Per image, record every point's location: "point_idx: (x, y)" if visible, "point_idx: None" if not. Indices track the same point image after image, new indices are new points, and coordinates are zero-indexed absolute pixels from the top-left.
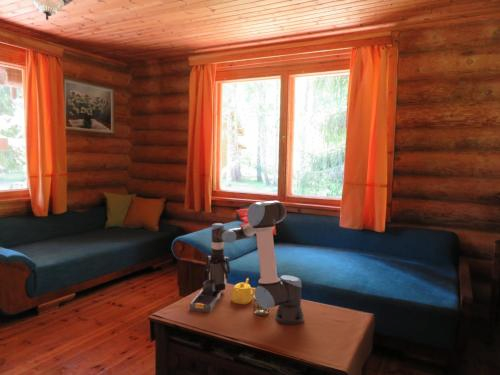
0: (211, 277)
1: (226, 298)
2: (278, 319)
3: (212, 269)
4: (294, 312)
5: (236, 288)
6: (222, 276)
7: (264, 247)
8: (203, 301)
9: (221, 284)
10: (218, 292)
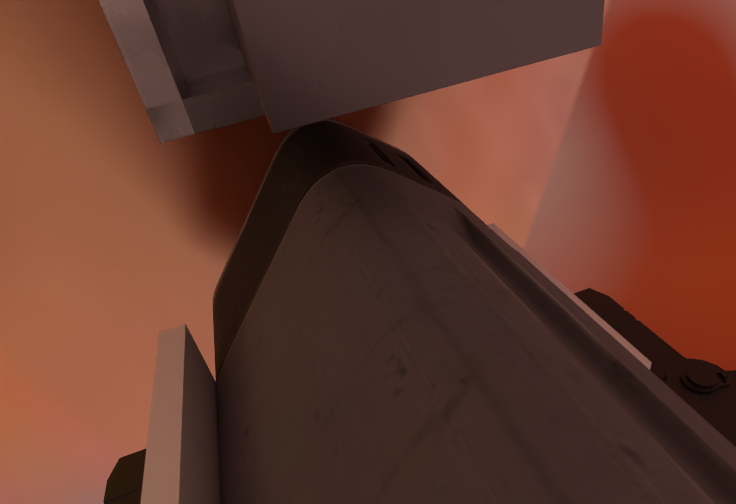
0: (504, 276)
1: (49, 118)
2: None
3: (688, 492)
4: None
5: None
6: (248, 460)
7: None
8: None
9: (243, 301)
10: (154, 49)
